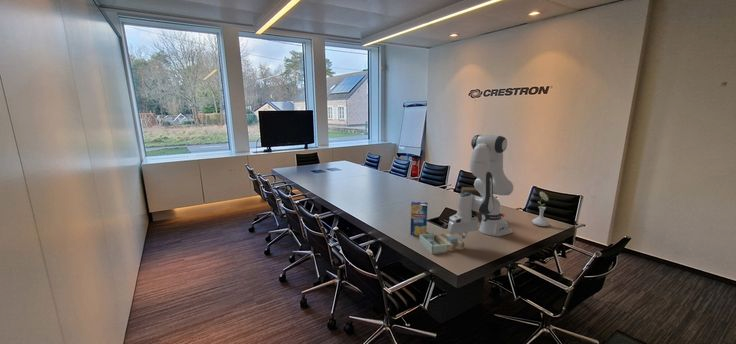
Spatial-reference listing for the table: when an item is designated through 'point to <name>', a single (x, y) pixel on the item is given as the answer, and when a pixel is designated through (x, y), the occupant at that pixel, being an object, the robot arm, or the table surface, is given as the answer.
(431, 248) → the tray
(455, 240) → the tile
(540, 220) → the flower in vase
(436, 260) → the table surface
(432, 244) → the tile
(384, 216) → the table surface
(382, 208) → the table surface
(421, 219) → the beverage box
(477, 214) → the photo frame
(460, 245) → the beige shallow box
